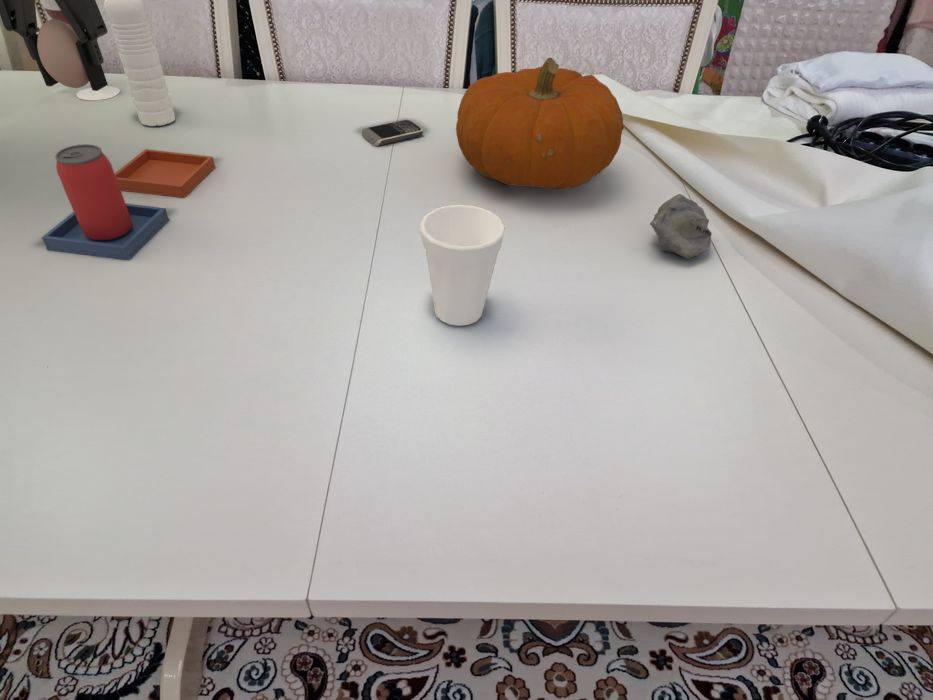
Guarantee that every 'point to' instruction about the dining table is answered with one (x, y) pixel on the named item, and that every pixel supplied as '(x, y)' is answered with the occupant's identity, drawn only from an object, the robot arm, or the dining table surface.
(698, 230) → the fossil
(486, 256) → the cup
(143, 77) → the water bottle
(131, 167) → the terracotta tray
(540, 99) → the pumpkin
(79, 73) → the egg
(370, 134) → the cell phone
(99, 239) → the beer can
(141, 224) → the blue tray
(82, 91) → the wineglass
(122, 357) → the dining table surface
